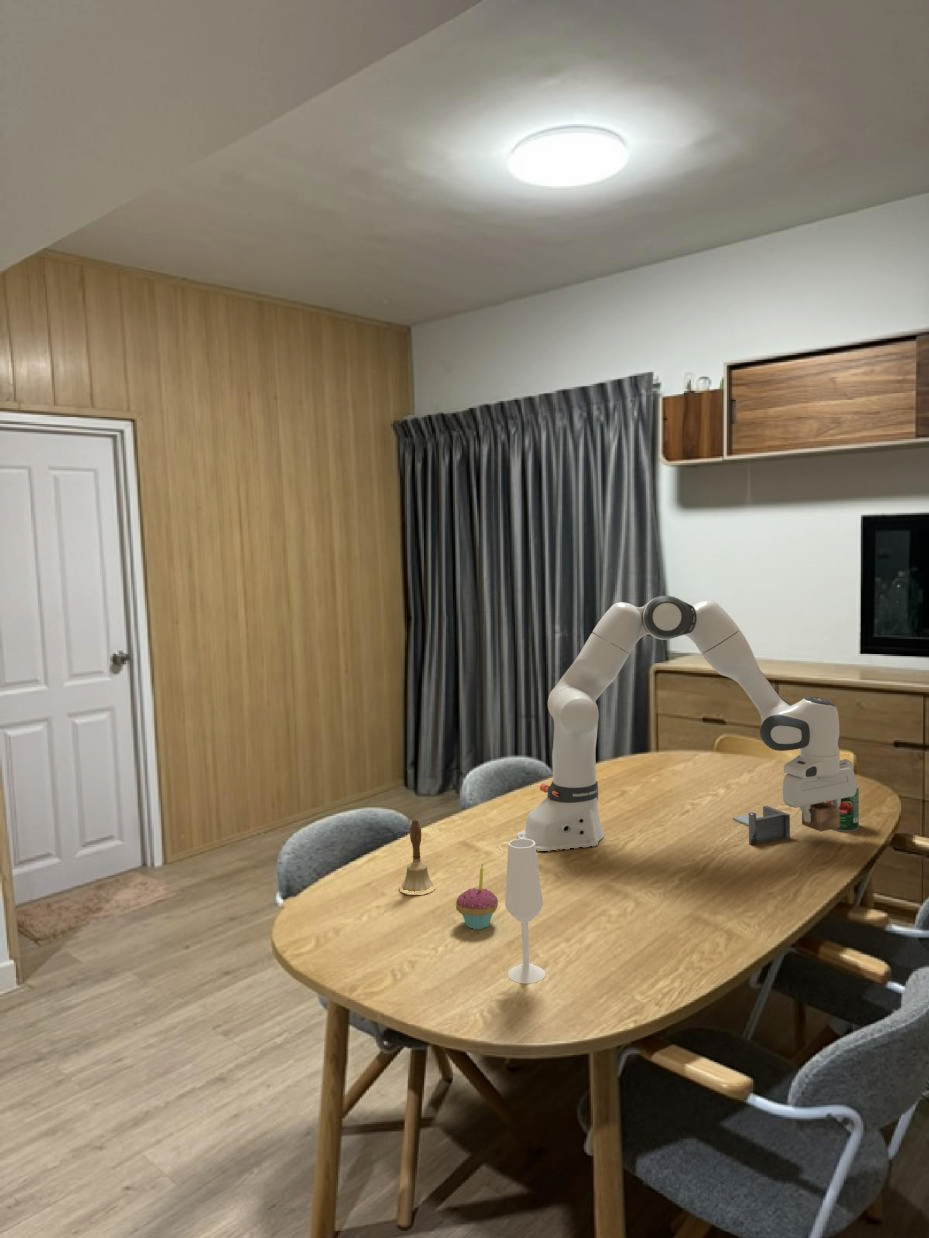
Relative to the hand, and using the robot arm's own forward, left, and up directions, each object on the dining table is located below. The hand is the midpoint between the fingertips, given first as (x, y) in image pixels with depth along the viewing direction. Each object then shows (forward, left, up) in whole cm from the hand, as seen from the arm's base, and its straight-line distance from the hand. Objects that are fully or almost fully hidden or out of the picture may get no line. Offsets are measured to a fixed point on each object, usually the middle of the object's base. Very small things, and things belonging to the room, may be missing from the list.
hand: (820, 818), depth 209 cm
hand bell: (-98, +20, -6) cm, 100 cm away
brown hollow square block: (0, 0, -2) cm, 2 cm away
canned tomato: (+13, +6, -6) cm, 16 cm away
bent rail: (-10, +10, -6) cm, 15 cm away
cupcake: (-93, -3, -6) cm, 93 cm away
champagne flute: (-93, -25, -6) cm, 96 cm away
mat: (-4, +20, -6) cm, 21 cm away
